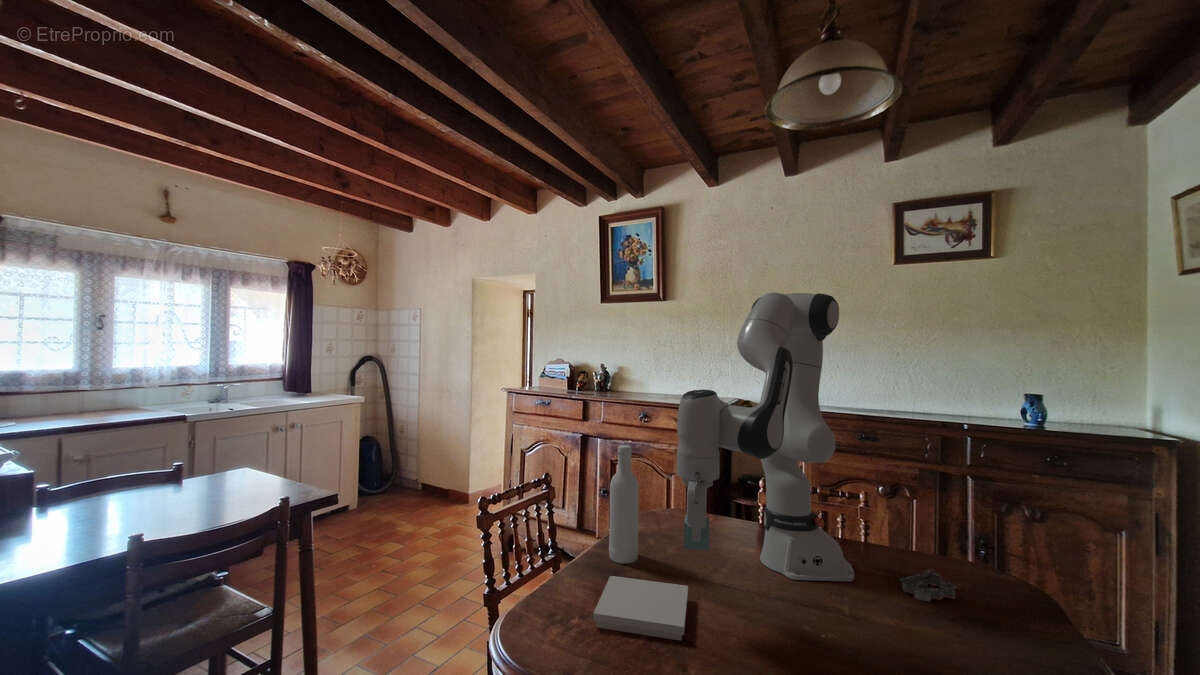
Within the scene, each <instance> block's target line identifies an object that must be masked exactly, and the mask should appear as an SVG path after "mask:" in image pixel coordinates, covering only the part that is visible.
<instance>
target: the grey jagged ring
mask: <svg viewBox="0 0 1200 675" xmlns="http://www.w3.org/2000/svg"><path fill="white" fill-rule="evenodd" d="M897 579H898V580H900V582H902V584H901V585H902V588H901V590H902V589H903V590H904V591H908V592H912V593H915V595H914V599H915V598H917V599H922V600H925V601H931V600H932V599H931V597H932V598H933V597H934V598H938V599H943V600H944V598H943V595H946V596H949V597H952V598H953V597H955V598H956V591H955V589H957V590H958V589H960V588H959V587H958V586H956V584H952V583H951V582H950V581H947V583H946V582H945V581H944V579H943V577H942V576H941V575H940V574H938V573H937V572H935V569H928V570H927V569H926V570H923V571H922V572H921V573H916V574H915V575H908V576H906V577H901V578H899V577H898V578H897ZM928 582H929V583H932V584H938V585H940V588H941V589H940V588H939V587H933V586H930V587H929V585H928V584H927V583H928ZM917 599H916V600H917ZM931 602H932V601H931Z"/></svg>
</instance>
